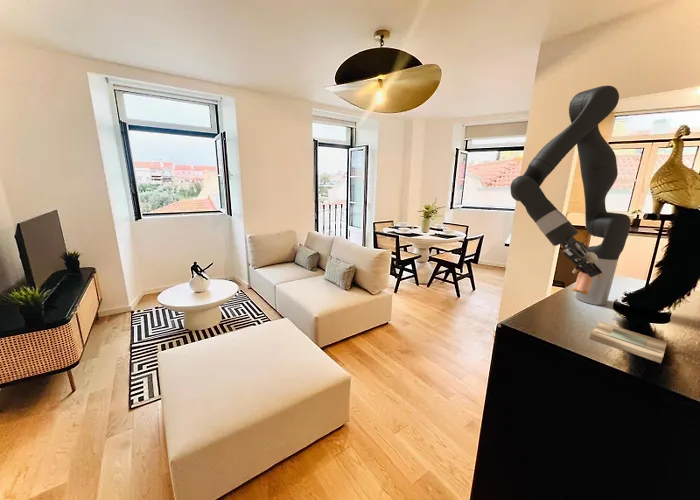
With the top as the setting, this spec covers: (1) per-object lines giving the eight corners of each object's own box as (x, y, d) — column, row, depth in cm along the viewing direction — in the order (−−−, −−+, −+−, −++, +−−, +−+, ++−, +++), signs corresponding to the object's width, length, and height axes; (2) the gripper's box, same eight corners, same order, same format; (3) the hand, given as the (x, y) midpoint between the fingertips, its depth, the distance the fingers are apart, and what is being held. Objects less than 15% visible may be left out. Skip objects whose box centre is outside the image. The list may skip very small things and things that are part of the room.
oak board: (599, 326, 88) (600, 321, 88) (665, 347, 78) (667, 341, 77) (589, 338, 81) (590, 333, 80) (660, 363, 70) (662, 357, 70)
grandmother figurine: (565, 289, 89) (574, 250, 86) (569, 287, 91) (578, 249, 88) (596, 298, 83) (607, 255, 80) (599, 295, 85) (610, 254, 82)
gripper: (560, 222, 83) (605, 272, 77) (574, 218, 92) (615, 264, 86) (536, 236, 89) (576, 285, 82) (552, 232, 97) (589, 276, 91)
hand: (596, 274), depth 84 cm, fingers closed on grandmother figurine, 2 cm apart
